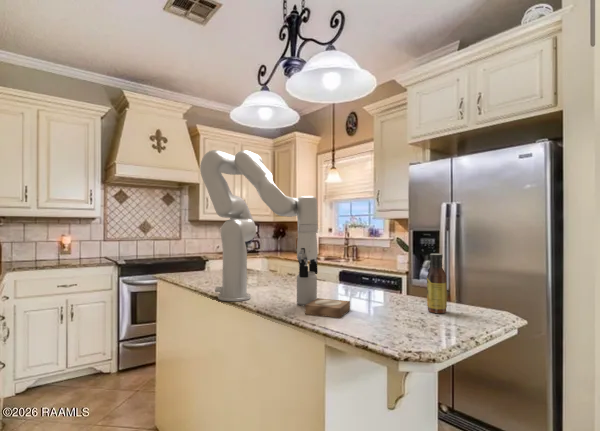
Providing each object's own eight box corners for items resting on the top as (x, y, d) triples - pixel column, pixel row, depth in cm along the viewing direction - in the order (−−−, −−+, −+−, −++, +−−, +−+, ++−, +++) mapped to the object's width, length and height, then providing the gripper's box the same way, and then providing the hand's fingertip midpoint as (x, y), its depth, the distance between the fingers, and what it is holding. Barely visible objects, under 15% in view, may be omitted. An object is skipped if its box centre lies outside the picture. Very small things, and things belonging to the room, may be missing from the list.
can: (314, 307, 132) (315, 273, 132) (294, 305, 134) (294, 272, 134) (318, 302, 140) (318, 270, 140) (298, 301, 141) (299, 270, 141)
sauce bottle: (432, 309, 130) (432, 252, 131) (449, 312, 126) (449, 253, 126) (423, 312, 126) (423, 253, 126) (441, 315, 121) (441, 254, 122)
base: (305, 314, 122) (305, 304, 122) (317, 306, 133) (317, 297, 133) (340, 317, 117) (340, 307, 117) (349, 309, 128) (349, 300, 128)
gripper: (306, 229, 147) (307, 272, 146) (288, 230, 131) (290, 278, 130) (324, 228, 144) (325, 273, 143) (308, 229, 128) (309, 279, 127)
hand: (308, 275), depth 137 cm, fingers open, 9 cm apart
